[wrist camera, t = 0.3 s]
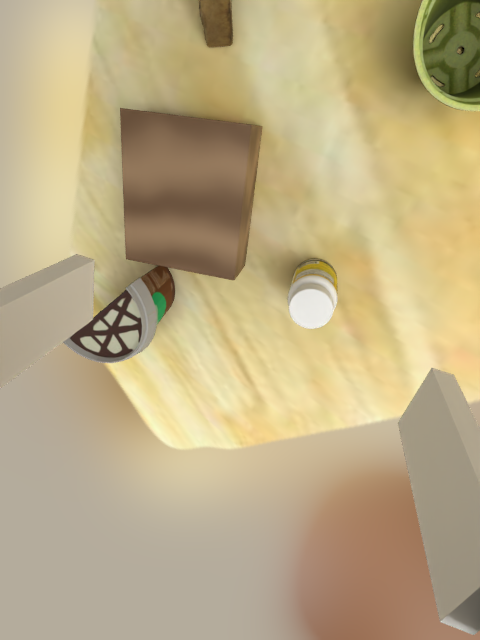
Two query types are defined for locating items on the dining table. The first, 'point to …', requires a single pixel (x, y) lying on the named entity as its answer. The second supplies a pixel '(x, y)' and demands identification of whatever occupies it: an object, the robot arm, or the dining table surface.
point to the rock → (217, 22)
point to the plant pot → (449, 51)
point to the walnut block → (188, 191)
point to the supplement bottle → (313, 294)
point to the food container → (126, 320)
